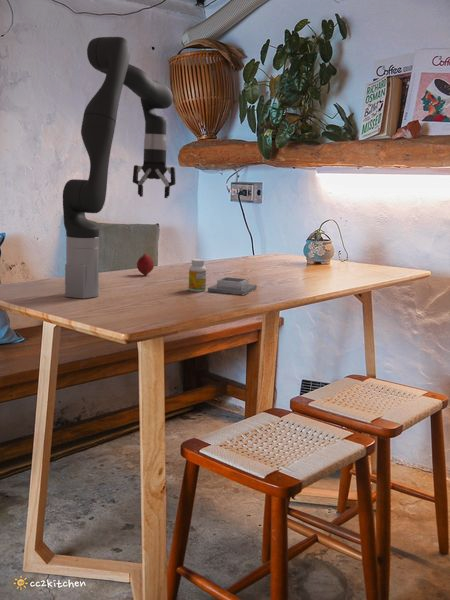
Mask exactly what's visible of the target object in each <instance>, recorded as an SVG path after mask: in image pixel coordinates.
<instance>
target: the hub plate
mask: <svg viewBox="0 0 450 600" xmlns="http://www.w3.org/2000/svg"><path fill="white" fill-rule="evenodd" d="M257 286H258V285H257V284H250V280H249V278H242V277H241V278H240V277H229V276H223V277H221V278H219V279H217V280H216V283H215V284H214V285H211V286H210V287H208V288H207V293H214V292H215V293H217V294H224V293H232V294H231V295H235V294H244V295H243V296H246V295H248V294H249V292H250V293H252V292H253V291H255V290H257V289H256V288H257ZM254 289H255V290H254ZM252 290H253V291H252ZM251 291H252V292H251ZM247 293H248V294H247ZM245 294H246V295H245Z"/></svg>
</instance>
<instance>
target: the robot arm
mask: <svg viewBox="0 0 450 600" xmlns="http://www.w3.org/2000/svg"><path fill="white" fill-rule="evenodd" d="M86 54H87V55H86V56H87V59H88V62H89V64H90V65H91V66H92V67H93V69H95V70H96V71H98V72H101V74H102V73H103V74H105V78H104V80H103V83H102V85H101V86H100V88H98V90H97V92H95V94H94V95H93V97H91V99H90V100H89V102H88V104H87V105H86V107H85V109H84V110H83V111H84V112H83V117H82V121H81V129H80V135H81V139H82V142H83V146H84V148H85V150H86V151H87V155H88V158H89V165H90V166H89V175H88V178H87V179H76V178H75V179H74V178H73V179H72V178H71V179H70V180H67V182H66V183H65V184H64V186H63V191H62V210H63V211H62V212H63V226H64V229H65V236H66V239H65V240H66V243H65V244H66V245H65V246H66V247H65V248H66V249H65V252H66V253H65V261H66V262H65V264H64V276H65V277H64V285H65V286H64V297H68V298H77V299H88V298H96V297H99V287H100V285H99V284H100V283H99V281H100V279H99V278H100V277H99V276H100V275H99V274H100V270H99V269H100V268H99V267H100V266H99V265H100V263H99V261H100V258H99V257H100V255H99V253H100V229H99V227H98V226H97V225H96V224H94V223H92V222H91V221H89V220H88V219H87V217H86V214H98V213H100V212H101V211H102V210H103V208H104V206H105V202H106V197H107V191H108V190H107V187H108V174H109V164H110V156H111V151H112V150H111V149H112V145H113V140H114V135H115V129H116V125H117V124H116V123H117V115H118V109H119V105H120V99H121V94H122V90H123V86H125V87H126V88H128V89H129V90H130V91H132V92H133V93H134V94H135V95H136V96H137V97H139V98H140V103H141V107H142V111H143V117H144V123H145V124H144V138H143V164H142V165H137V164H135V165H133V171H132V172H133V173H132V184H136V185H137V195H139V197H141V198H143V197H144V183H145V182H146V181H147V180H148V179H149V180H154V179H155V180H161V181H162V183H163V184H164V185H165V186H164V199H168V197H170V191H171V190H170V189H171V187H172V186H176V183H177V182H176V168H175V167H174V166H171V167H168V166H167V148H168V147H167V119H166V118H165V117H164V116H162V115H161V116H160V115H157V114H156V111H155V110H158V109H159V110H160V109H162V110H164V109H168V108H170V107H171V106H172V104H173V100H174V95H173V92H172V91H171V89H170V88H169V87H168V86H167V85H165V84H163V83H162V82H160V81H158V80H155V79H153V78H152V77H151V76H150V75H149V74H147V72H145V70H142V69H141V68H140V67H137V66H135V65H134V64H133V65H132V64H130V58H131V57H130V54H131V49H130V44H129V42H128V41H127V39H126V38H124V37H121V36H103V37H101V36H99V37H94V38H92V39H91V40H90V41H89V42H88V44H87V48H86ZM141 170H142V172H143V175H142V177H141V178H140V179H139V173H140V172H141ZM167 171H168V174H170V182H169V180H168V179H167V177H166V173H167Z"/></svg>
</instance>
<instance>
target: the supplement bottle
mask: <svg viewBox="0 0 450 600" xmlns="http://www.w3.org/2000/svg"><path fill="white" fill-rule="evenodd" d="M206 285H207V268H206V266H205V259H202V258H192V259H191V265H190V266H189V269H188V291H190V292H196V293H197V292H205V291H206Z"/></svg>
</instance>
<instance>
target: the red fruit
mask: <svg viewBox="0 0 450 600" xmlns="http://www.w3.org/2000/svg"><path fill="white" fill-rule="evenodd" d="M148 254H149V253H147V252H145V253H144V254H143V255H142V256H141V257H139V259H138V260H137V263H136V268H137V270H138V271H139V272H140V274H142V275H143V276H147V275H149V274H150V273H151V272H152V271H153V270H154V266H155V263H154V261H153V258H151V256H149V255H148Z"/></svg>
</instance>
